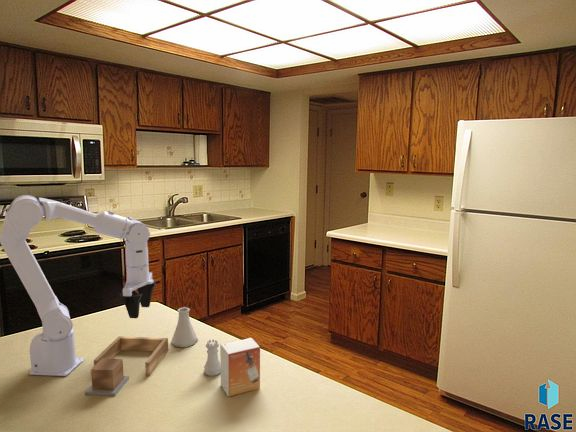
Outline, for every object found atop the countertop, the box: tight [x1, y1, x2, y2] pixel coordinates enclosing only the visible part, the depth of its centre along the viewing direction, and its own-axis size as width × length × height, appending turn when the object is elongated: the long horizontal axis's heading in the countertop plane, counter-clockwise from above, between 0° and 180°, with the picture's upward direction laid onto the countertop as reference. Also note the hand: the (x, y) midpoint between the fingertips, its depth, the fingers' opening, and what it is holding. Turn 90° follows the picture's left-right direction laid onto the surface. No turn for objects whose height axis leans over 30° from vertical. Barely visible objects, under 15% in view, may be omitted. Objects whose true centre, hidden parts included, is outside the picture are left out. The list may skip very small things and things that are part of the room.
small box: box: [219, 337, 261, 398], centre depth 93 cm, size 8×6×10 cm
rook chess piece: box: [203, 339, 221, 377], centre depth 100 cm, size 4×4×8 cm
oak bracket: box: [93, 336, 169, 377], centre depth 105 cm, size 14×13×4 cm
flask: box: [170, 306, 199, 348], centre depth 115 cm, size 7×7×10 cm
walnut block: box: [90, 358, 125, 390], centre depth 93 cm, size 5×5×5 cm
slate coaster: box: [84, 375, 130, 397], centre depth 94 cm, size 7×7×1 cm
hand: (139, 312), depth 111 cm, fingers open, 7 cm apart
